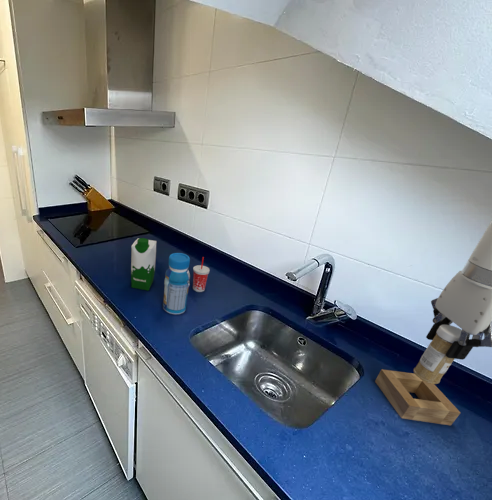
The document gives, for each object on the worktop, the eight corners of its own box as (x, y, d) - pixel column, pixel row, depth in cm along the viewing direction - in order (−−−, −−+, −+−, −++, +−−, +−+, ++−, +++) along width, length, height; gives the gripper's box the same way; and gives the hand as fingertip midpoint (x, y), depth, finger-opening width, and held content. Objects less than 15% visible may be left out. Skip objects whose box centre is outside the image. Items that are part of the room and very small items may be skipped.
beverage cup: (203, 295, 107) (208, 262, 102) (188, 290, 110) (192, 258, 104) (208, 287, 112) (213, 256, 106) (194, 283, 115) (198, 252, 109)
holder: (417, 387, 73) (425, 374, 71) (450, 426, 64) (460, 412, 62) (374, 381, 74) (381, 369, 72) (401, 418, 65) (409, 405, 63)
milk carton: (128, 288, 110) (129, 240, 101) (135, 277, 118) (136, 232, 109) (150, 292, 108) (153, 244, 99) (156, 280, 116) (159, 235, 107)
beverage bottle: (174, 318, 94) (179, 265, 86) (157, 306, 100) (160, 255, 92) (191, 309, 99) (198, 258, 91) (174, 298, 105) (179, 249, 97)
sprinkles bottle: (443, 387, 63) (476, 340, 57) (418, 381, 64) (448, 335, 58) (431, 371, 67) (461, 326, 61) (408, 366, 68) (435, 321, 62)
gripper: (568, 304, 46) (502, 383, 54) (473, 257, 61) (432, 325, 69) (515, 298, 47) (458, 377, 54) (434, 254, 62) (398, 321, 70)
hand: (444, 347), depth 62 cm, fingers closed on sprinkles bottle, 4 cm apart
